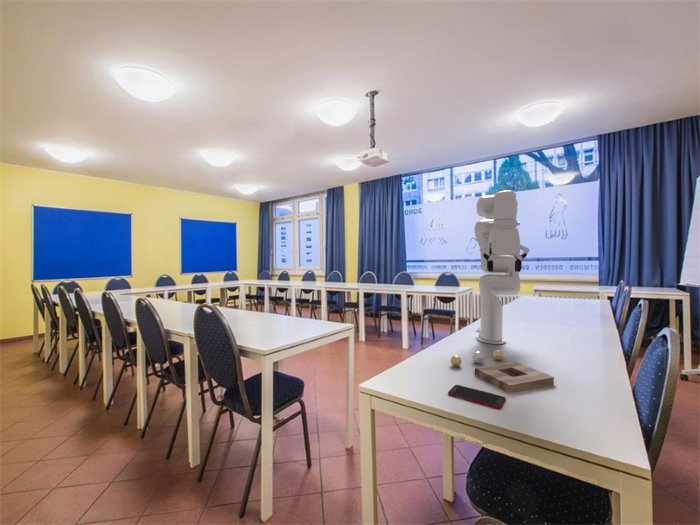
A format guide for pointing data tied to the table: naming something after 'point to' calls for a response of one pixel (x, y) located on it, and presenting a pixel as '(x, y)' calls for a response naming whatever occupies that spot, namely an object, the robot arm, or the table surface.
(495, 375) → the pocket plate
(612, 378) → the table surface
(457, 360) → the brass ball
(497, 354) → the brass ball
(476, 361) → the steel ball
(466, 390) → the cell phone
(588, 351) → the table surface
